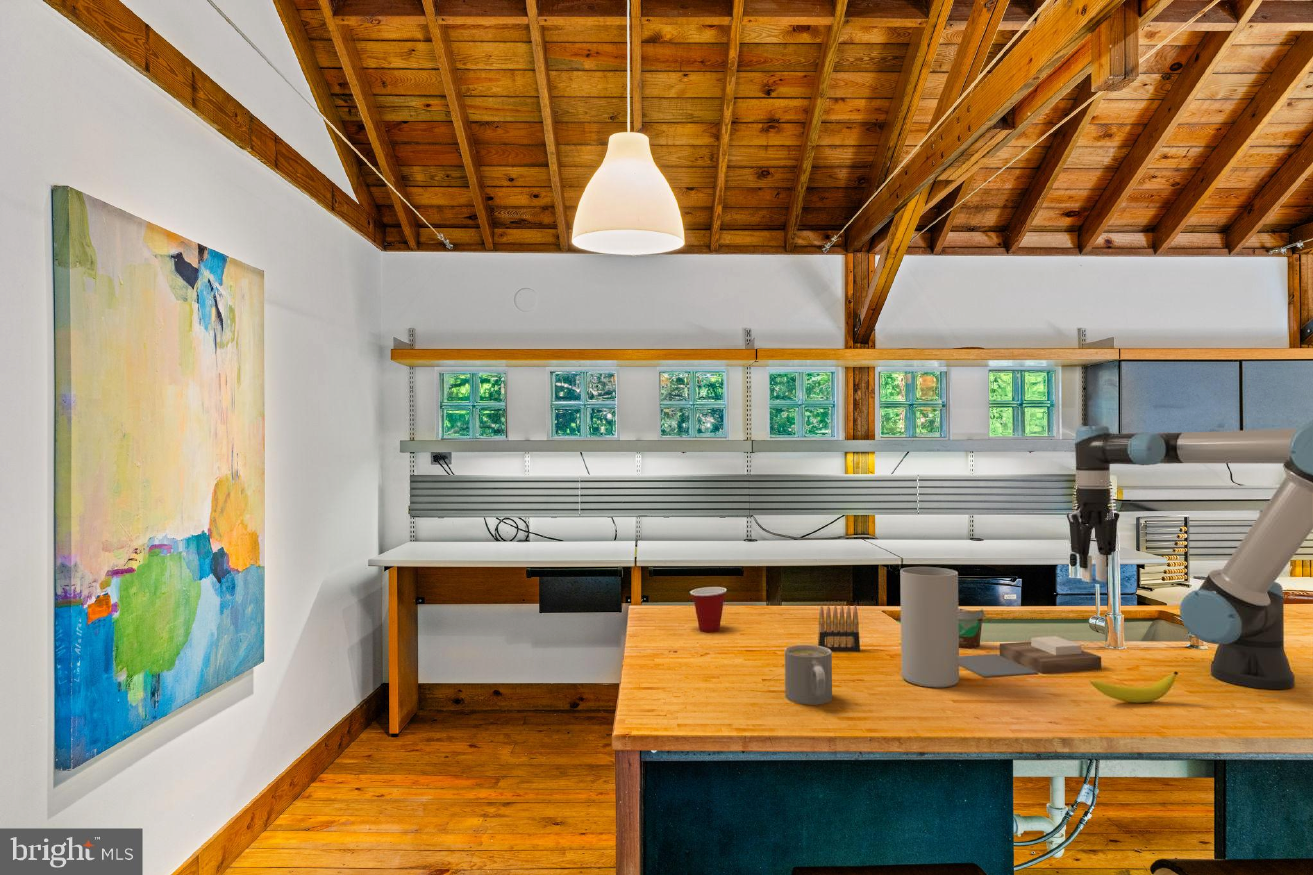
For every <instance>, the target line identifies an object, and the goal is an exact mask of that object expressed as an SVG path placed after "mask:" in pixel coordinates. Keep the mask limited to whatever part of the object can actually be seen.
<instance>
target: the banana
mask: <svg viewBox="0 0 1313 875" xmlns="http://www.w3.org/2000/svg"><path fill="white" fill-rule="evenodd" d="M1178 674H1179V671H1174V673H1172V674H1169V675H1167V676H1165V677H1163V678H1161V679H1160V680H1159V681H1157V682H1156V683H1153V684H1151V685H1149V686H1141V687H1140V686H1135V687H1134V686H1122V685H1116V684H1112V683H1108V682H1103V681H1098V680H1089V683H1090V684H1091V685H1092V687H1093V688H1094V689H1096V690H1097V691H1098V692H1100V693H1101V694H1103V695H1104V696H1106V697H1109V698H1111V699H1114V700H1118V701H1123V702H1128V703H1132V704H1135V703H1136V704H1141V703H1143V704H1144V703H1150V702H1155V701H1157V700H1159V699H1161V698H1162V697H1164V696H1165V695H1166V694H1167V693H1168V692H1169V691H1170V690H1171V688H1172V686H1173V684H1174V683H1175V680H1176V676H1177V675H1178Z"/></svg>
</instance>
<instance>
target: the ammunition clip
mask: <svg viewBox="0 0 1313 875" xmlns="http://www.w3.org/2000/svg"><path fill="white" fill-rule="evenodd" d="M851 610H852V609H851V607H850V605H847V607H846V615H845V610H844V606H843V605H842V604H841V606H840V608H839V613H838V608H837V604H836V605H834V607H833V610H832V611H831V607H830V605H827V607H826V613H825V612H824V611H825V610H824V607H823V605H822V604H821V605H820V607H819V618H818V636H817V637H818V638H817V639H818V642H817V643H818V644H817V646H822V647H825V648H828V649H830V650H831V652H832V653H833V652H834V653H837V652H838V653H840V652H841V653H843V652H844V653H845V652H846V653H848V652H855V653H856V652H858V653H860V652H861V645H860V643H861V642H860V630H859V629H860V627H859V623H860V622H859V616H858V615H859V614H858V608H857V605H854V606H853V611H851ZM831 612H832V614H831ZM825 614H826V616H825ZM838 614H839V615H838ZM838 616H839V617H838ZM845 616H846V617H845ZM845 618H846V619H845Z"/></svg>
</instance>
